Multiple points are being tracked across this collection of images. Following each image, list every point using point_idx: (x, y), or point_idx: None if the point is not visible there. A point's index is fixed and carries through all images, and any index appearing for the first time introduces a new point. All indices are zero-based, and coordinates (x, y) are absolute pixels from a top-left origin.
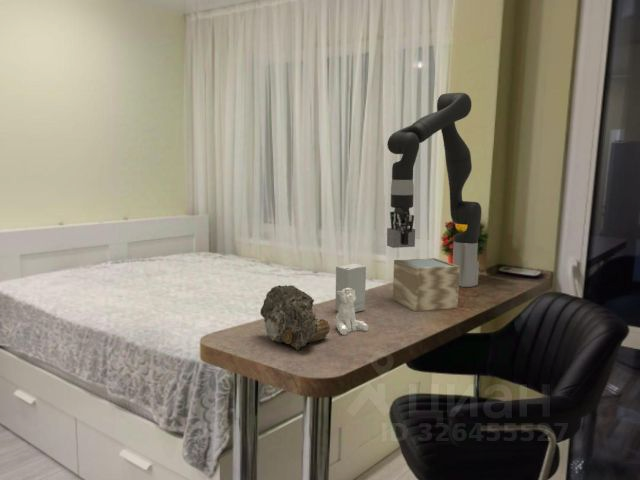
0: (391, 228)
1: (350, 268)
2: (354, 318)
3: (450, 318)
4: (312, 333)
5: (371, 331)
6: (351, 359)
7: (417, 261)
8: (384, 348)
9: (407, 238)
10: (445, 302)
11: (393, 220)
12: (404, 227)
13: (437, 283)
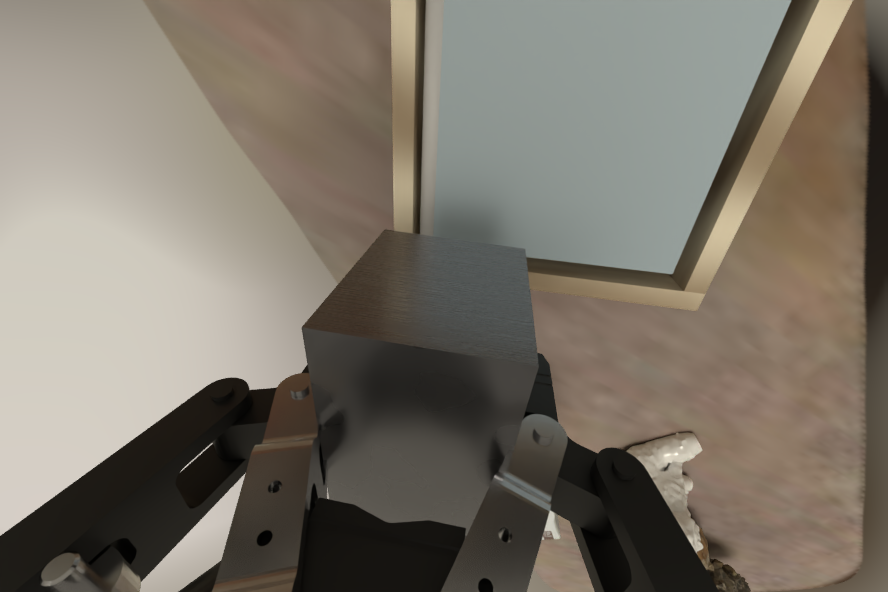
0: (366, 510)
1: (552, 530)
2: (681, 477)
3: (798, 149)
4: (745, 585)
5: (704, 428)
6: (817, 526)
7: (478, 144)
8: (827, 465)
9: (550, 393)
10: None
11: (178, 523)
12: (591, 565)
13: None
